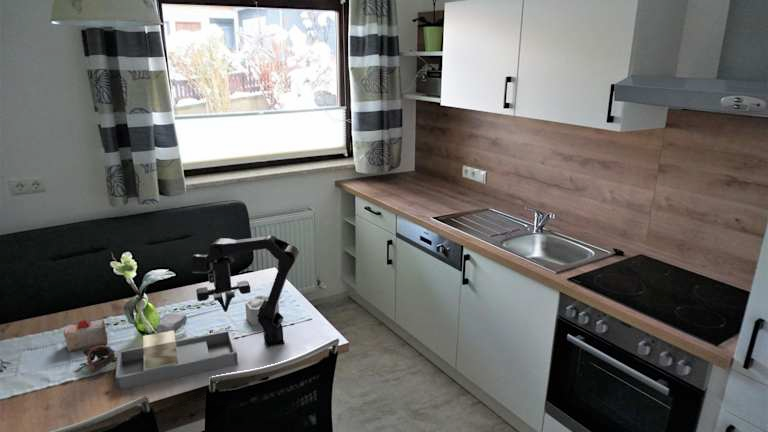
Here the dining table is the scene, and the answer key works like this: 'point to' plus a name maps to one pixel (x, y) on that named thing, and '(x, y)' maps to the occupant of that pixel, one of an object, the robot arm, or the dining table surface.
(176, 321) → the stone block
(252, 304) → the lumpy-topped squat cylinder
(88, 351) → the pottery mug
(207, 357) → the grey shallow rectangular tray
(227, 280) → the robot arm
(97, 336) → the food item
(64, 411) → the dining table surface
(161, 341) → the birch block
